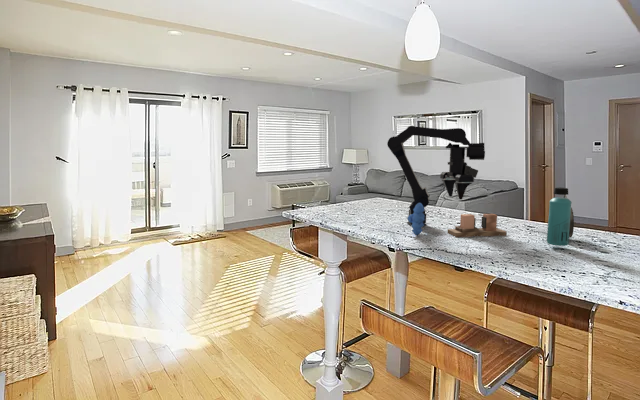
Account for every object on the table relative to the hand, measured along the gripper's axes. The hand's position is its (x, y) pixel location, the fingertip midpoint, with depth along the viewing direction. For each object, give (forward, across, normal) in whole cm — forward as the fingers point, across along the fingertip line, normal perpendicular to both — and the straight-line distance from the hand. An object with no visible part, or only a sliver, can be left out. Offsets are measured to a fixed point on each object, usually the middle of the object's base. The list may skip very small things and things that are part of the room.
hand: (455, 197), depth 170 cm
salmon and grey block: (+10, -15, +2) cm, 18 cm away
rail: (+12, -15, -2) cm, 19 cm away
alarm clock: (+12, -27, -28) cm, 41 cm away
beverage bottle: (+12, -38, -18) cm, 44 cm away
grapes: (+12, -12, +21) cm, 27 cm away
